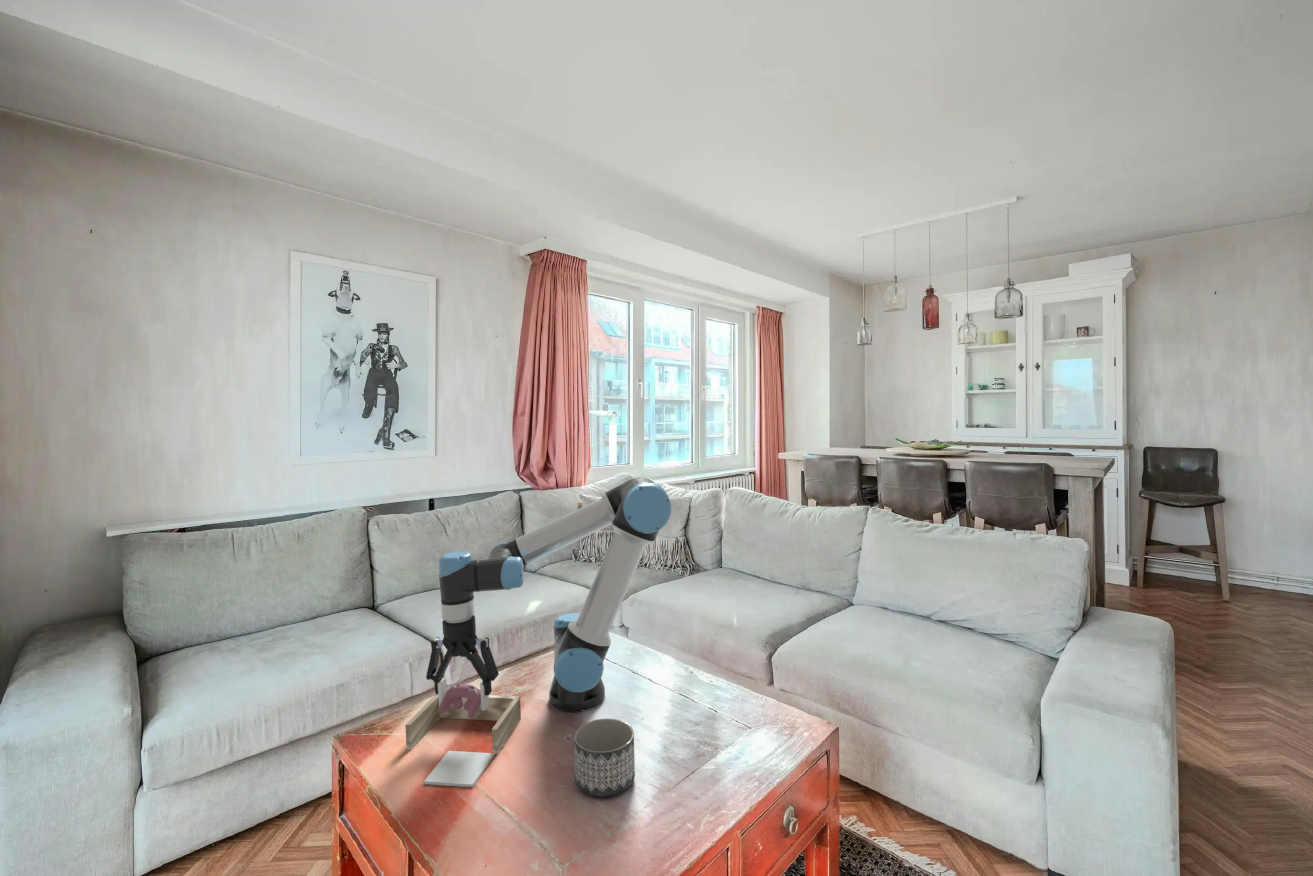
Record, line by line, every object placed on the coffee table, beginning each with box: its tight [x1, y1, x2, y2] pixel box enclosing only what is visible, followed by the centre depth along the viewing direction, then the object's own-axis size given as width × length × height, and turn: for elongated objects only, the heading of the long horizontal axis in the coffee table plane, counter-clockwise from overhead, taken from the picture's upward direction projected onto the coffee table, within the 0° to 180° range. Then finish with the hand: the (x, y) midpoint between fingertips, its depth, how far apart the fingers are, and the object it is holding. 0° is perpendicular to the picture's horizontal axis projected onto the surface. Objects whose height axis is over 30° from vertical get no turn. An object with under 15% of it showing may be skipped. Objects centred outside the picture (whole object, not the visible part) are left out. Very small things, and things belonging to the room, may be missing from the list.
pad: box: [423, 750, 495, 788], centre depth 128 cm, size 11×11×1 cm
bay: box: [405, 693, 522, 755], centre depth 142 cm, size 22×15×6 cm
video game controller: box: [439, 683, 481, 720], centre depth 139 cm, size 10×5×7 cm, turn 71°
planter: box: [573, 718, 636, 798], centre depth 123 cm, size 13×13×10 cm
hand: (464, 707), depth 140 cm, fingers closed on video game controller, 10 cm apart
